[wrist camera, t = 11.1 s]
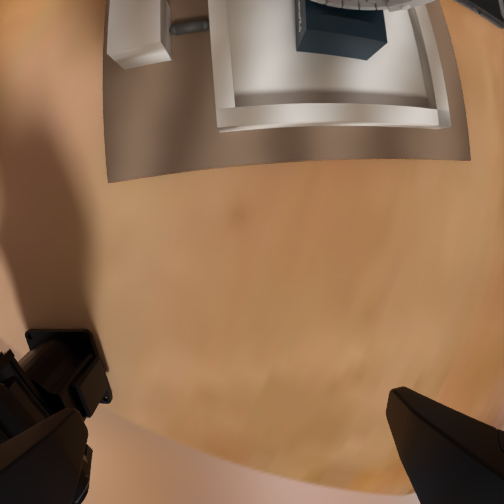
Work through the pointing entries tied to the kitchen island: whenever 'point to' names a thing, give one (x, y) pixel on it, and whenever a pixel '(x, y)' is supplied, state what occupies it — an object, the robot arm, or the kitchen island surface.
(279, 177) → the kitchen island surface
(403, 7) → the watch
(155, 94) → the charging board
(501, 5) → the phone
